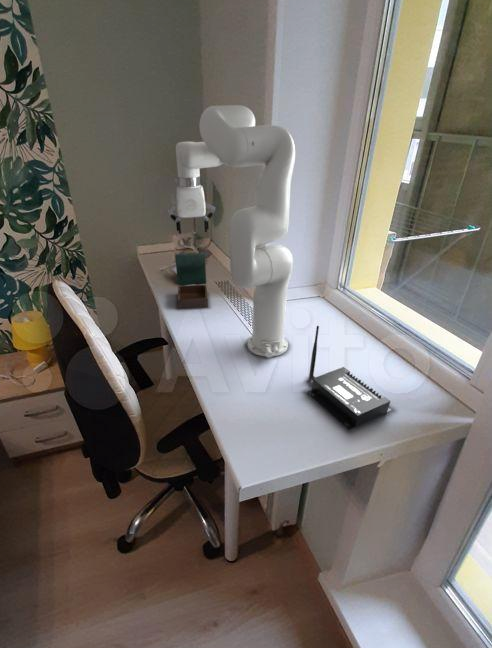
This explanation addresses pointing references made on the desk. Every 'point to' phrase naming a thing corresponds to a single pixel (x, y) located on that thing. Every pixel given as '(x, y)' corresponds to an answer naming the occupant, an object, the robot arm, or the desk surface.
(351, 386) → the wireless controller
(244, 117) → the robot arm
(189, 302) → the drawer box
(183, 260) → the panel with handle
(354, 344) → the desk surface
